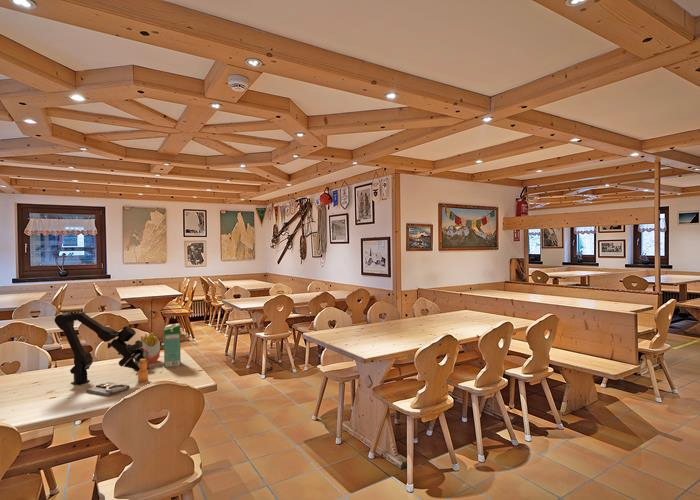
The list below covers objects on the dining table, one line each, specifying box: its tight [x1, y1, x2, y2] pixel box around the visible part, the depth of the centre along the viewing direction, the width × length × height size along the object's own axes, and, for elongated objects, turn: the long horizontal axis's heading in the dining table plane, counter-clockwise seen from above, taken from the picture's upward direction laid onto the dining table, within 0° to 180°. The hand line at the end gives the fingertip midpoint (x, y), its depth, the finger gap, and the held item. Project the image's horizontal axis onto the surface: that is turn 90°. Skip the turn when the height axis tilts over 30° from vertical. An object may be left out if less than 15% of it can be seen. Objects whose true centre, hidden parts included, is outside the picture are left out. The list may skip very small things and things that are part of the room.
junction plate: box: [85, 381, 131, 397], centre depth 211 cm, size 18×12×2 cm, turn 68°
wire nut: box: [137, 359, 149, 384], centre depth 226 cm, size 5×5×12 cm
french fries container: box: [140, 332, 161, 365], centre depth 261 cm, size 5×11×18 cm, turn 156°
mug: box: [133, 349, 151, 371], centre depth 247 cm, size 12×9×11 cm
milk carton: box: [163, 322, 182, 368], centre depth 255 cm, size 9×9×25 cm
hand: (143, 367), depth 226 cm, fingers open, 9 cm apart
